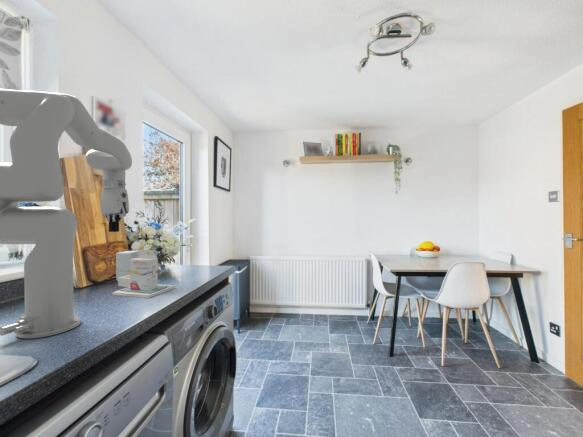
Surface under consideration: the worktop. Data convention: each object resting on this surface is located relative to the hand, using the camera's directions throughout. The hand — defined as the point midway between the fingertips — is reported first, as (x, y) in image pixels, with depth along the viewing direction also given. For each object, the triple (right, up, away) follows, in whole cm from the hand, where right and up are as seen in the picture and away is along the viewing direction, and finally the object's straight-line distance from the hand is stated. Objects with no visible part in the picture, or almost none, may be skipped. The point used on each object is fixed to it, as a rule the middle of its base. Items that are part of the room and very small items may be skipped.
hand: (113, 231), depth 109 cm
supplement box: (-4, -23, +17) cm, 29 cm away
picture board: (+14, -23, -3) cm, 27 cm away
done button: (+4, -22, +7) cm, 23 cm away
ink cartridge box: (+14, -22, -4) cm, 26 cm away
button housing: (+4, -23, +7) cm, 24 cm away
